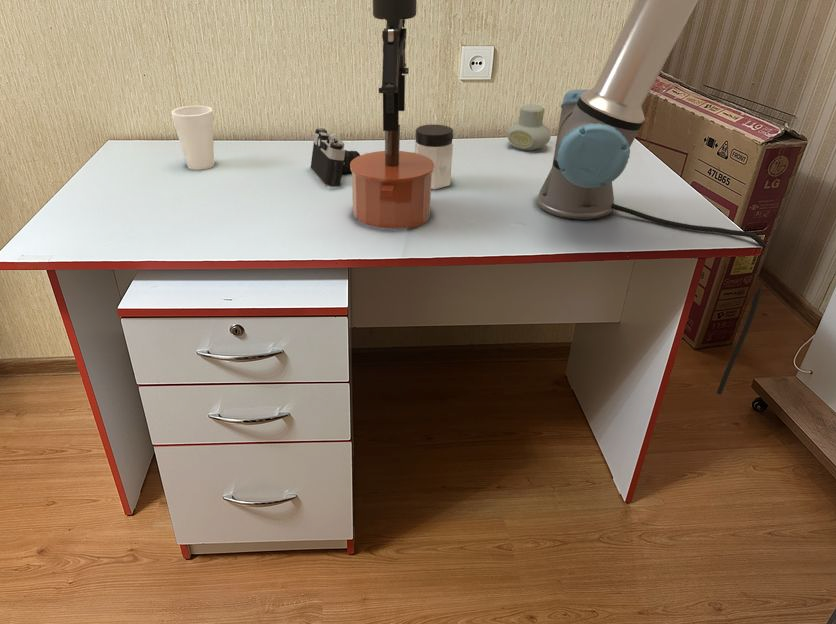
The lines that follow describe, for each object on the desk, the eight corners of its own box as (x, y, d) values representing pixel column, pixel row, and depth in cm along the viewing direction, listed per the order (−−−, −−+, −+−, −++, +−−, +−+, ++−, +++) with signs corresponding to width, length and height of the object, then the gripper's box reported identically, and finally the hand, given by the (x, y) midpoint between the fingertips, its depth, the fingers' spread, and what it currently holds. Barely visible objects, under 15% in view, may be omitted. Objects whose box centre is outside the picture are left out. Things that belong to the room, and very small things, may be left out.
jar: (427, 192, 141) (429, 137, 134) (405, 181, 146) (407, 128, 139) (458, 184, 145) (462, 130, 138) (436, 173, 150) (439, 121, 143)
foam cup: (226, 166, 155) (218, 112, 148) (190, 174, 151) (180, 118, 143) (211, 156, 162) (202, 103, 154) (176, 163, 157) (165, 109, 150)
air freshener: (553, 147, 166) (560, 107, 160) (538, 155, 161) (543, 114, 155) (517, 139, 172) (522, 100, 166) (500, 146, 167) (505, 107, 161)
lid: (435, 157, 131) (438, 114, 126) (432, 187, 118) (434, 139, 113) (356, 155, 133) (355, 112, 128) (343, 183, 120) (342, 136, 115)
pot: (431, 197, 138) (434, 151, 133) (426, 238, 121) (429, 188, 116) (361, 194, 140) (360, 149, 134) (346, 234, 123) (344, 184, 117)
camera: (366, 189, 146) (374, 146, 141) (321, 187, 142) (328, 142, 136) (346, 169, 157) (352, 128, 152) (304, 166, 153) (309, 123, 148)
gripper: (380, -16, 118) (381, 102, 130) (362, 0, 98) (366, 139, 110) (421, -17, 117) (418, 103, 129) (411, 0, 97) (409, 140, 109)
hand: (394, 120), depth 120 cm, fingers open, 13 cm apart
